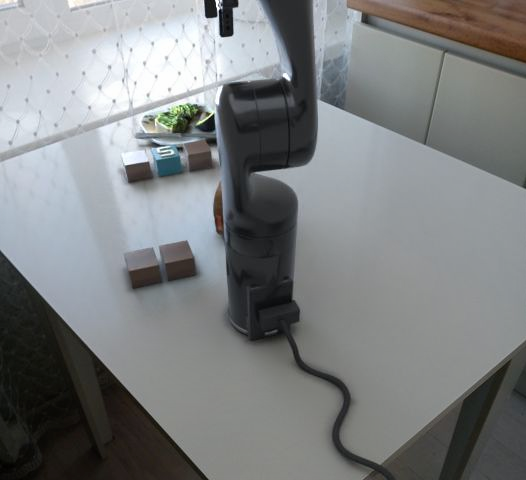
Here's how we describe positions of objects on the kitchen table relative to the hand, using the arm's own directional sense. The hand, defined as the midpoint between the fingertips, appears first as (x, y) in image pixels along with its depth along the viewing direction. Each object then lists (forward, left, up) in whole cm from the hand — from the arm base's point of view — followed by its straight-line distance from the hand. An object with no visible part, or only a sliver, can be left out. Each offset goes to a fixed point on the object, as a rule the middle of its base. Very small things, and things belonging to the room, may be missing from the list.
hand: (218, 26), depth 87 cm
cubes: (+6, +10, -26) cm, 29 cm away
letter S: (+6, +10, -26) cm, 29 cm away
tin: (-14, +3, -26) cm, 30 cm away
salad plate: (+20, +3, -26) cm, 33 cm away
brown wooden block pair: (-24, +18, -26) cm, 40 cm away
